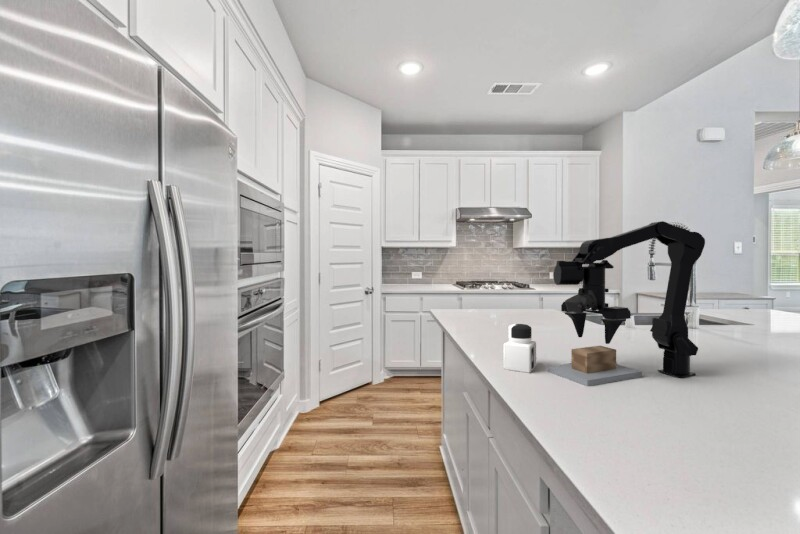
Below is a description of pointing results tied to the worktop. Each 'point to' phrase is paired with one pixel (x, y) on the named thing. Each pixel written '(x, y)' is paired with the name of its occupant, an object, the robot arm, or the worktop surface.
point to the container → (519, 349)
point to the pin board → (595, 374)
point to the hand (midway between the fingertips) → (593, 340)
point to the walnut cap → (593, 359)
